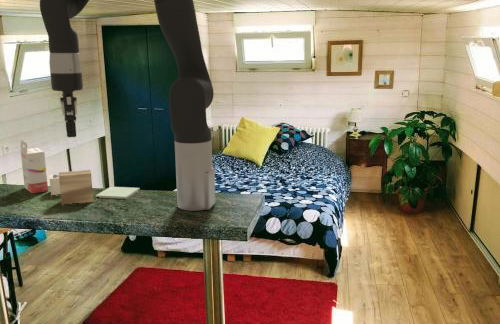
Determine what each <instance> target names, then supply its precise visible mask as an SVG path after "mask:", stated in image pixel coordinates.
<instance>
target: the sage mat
mask: <svg viewBox="0 0 500 324" xmlns="http://www.w3.org/2000/svg"><path fill="white" fill-rule="evenodd" d="M138 190H139V191H141V190H140V187H130V186H129V187H127V186H110V187H108V188H106V189H104V190H103V191H101V192H99V193H97V194H95V198H97V197H99V198H101V199H120V200H122V199H124V200H127V199H128V198H130V197H132V195H134V194H136V193H137V192H139V191H138Z"/></svg>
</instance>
